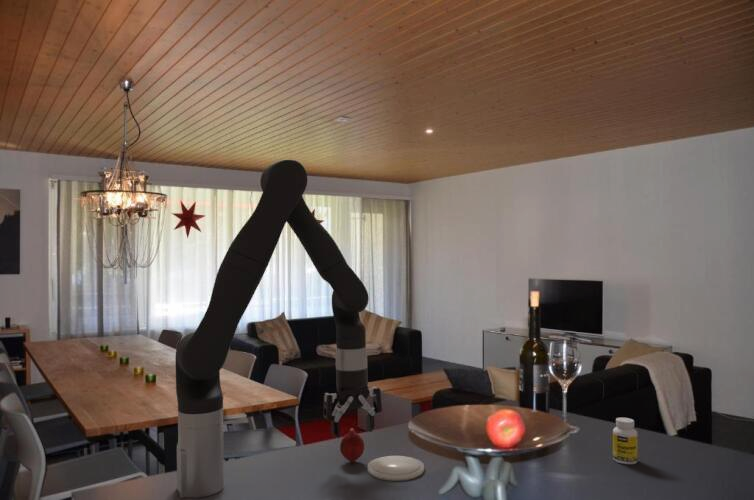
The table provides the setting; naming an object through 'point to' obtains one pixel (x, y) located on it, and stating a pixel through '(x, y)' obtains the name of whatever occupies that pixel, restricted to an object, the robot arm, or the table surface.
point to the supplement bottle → (625, 441)
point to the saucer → (395, 468)
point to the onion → (352, 446)
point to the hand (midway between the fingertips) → (353, 433)
